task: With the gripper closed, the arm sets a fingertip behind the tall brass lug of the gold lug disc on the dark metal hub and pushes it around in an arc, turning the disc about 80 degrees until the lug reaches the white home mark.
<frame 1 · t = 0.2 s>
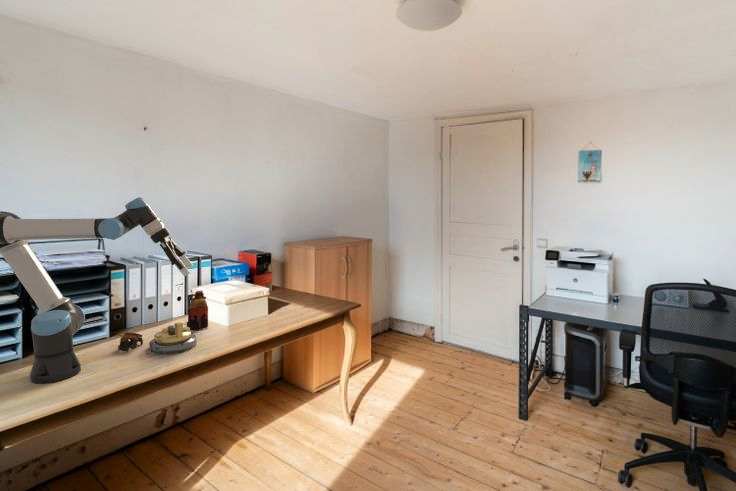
hand: (189, 270, 178), 34 cm above the table, tool tilted 35°, fingers open, 13 cm apart
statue: (195, 328, 207), on the table
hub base: (173, 346, 182), on the table
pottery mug: (131, 348, 180), on the table
gold lug disc: (172, 329, 182), point 8 cm above the table, hinge at 0.0°
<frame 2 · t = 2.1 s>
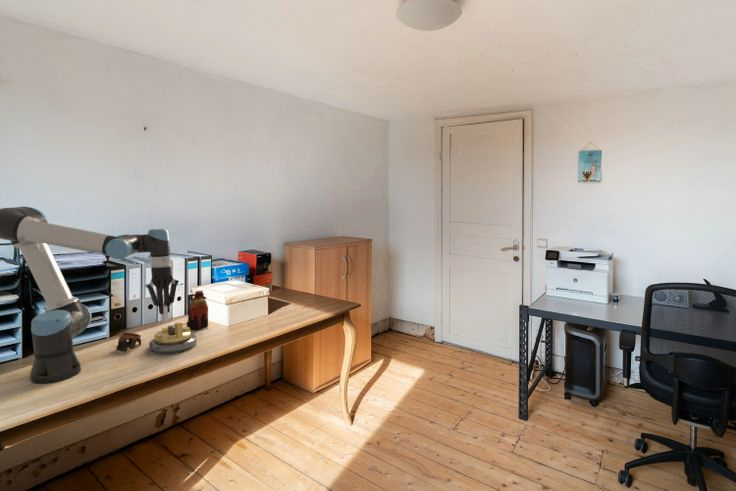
hand: (165, 320, 172), 15 cm above the table, tool pointing down, fingers closed
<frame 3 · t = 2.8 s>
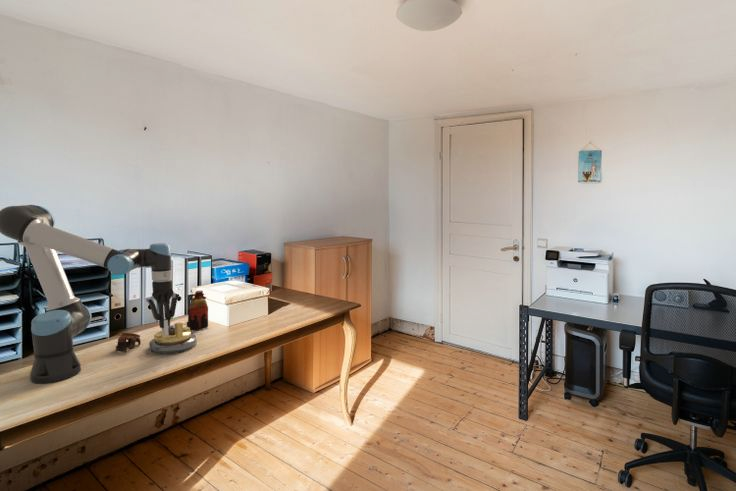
hand: (165, 334, 173), 8 cm above the table, tool pointing down, fingers closed
nothing on the table moved.
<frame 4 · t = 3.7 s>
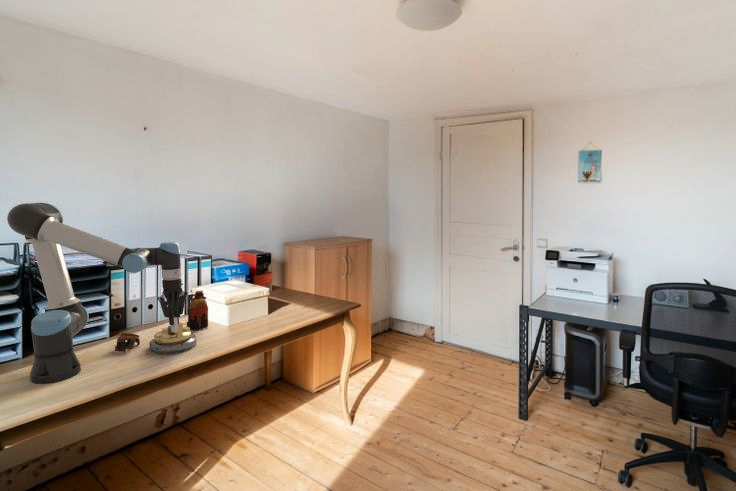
hand: (174, 331, 176), 9 cm above the table, tool pointing down, fingers closed
gold lug disc: (172, 329, 182), point 8 cm above the table, hinge at 0.5°, touching gripper
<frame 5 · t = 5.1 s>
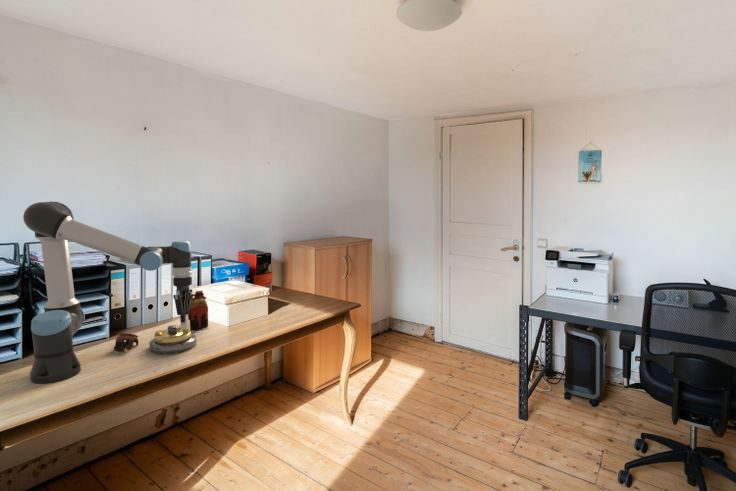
hand: (184, 328, 180), 9 cm above the table, tool pointing down, fingers closed
gold lug disc: (172, 329, 182), point 8 cm above the table, hinge at 41.3°, touching gripper
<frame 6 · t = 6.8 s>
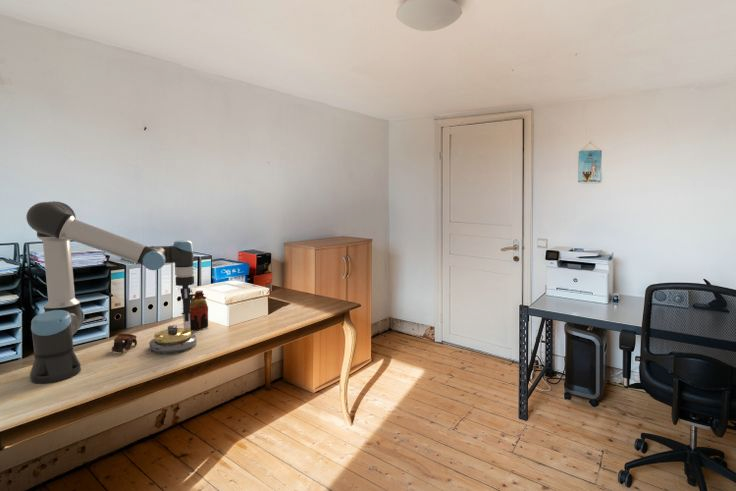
hand: (187, 327, 181), 9 cm above the table, tool pointing down, fingers closed
gold lug disc: (172, 329, 182), point 8 cm above the table, hinge at 70.0°
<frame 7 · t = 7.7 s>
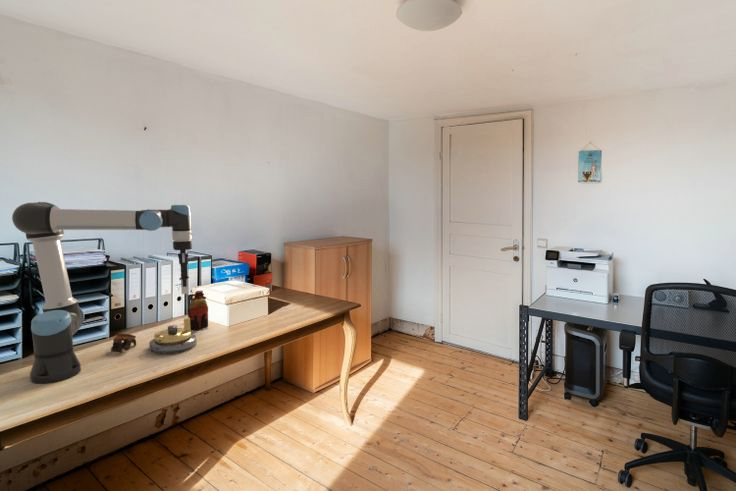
hand: (185, 293, 179), 24 cm above the table, tool pointing down, fingers closed
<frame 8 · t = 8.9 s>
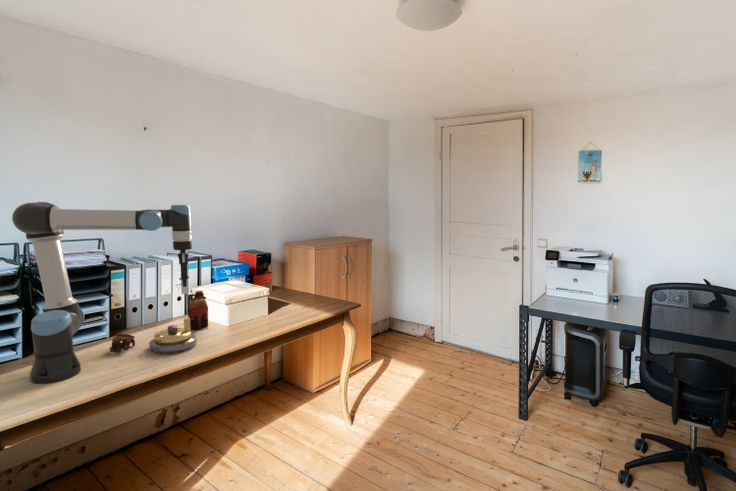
hand: (185, 293, 179), 24 cm above the table, tool pointing down, fingers closed
at the end: gold lug disc at +70° (first picture: +0°); gold lug disc touching nothing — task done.
